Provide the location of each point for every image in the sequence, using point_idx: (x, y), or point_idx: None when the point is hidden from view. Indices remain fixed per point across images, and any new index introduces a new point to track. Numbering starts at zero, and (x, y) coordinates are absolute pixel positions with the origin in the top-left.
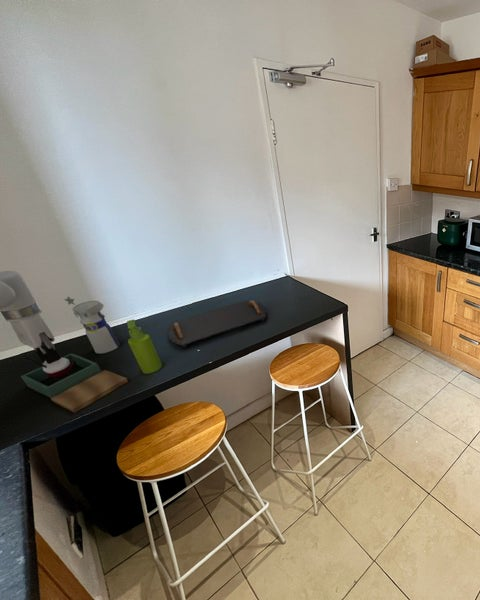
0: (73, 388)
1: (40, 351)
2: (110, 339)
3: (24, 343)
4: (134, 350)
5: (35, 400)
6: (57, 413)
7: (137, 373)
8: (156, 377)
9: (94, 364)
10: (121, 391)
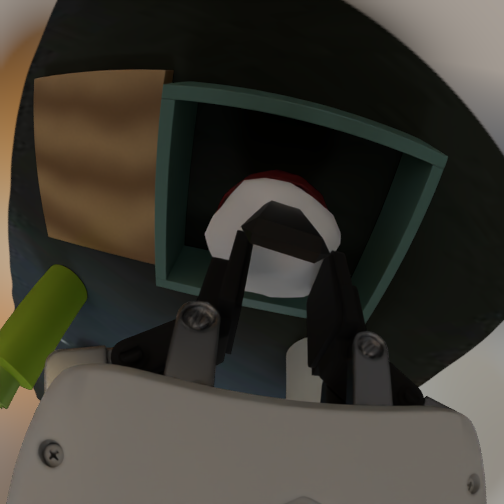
0: (140, 147)
1: (328, 327)
2: (286, 389)
3: (388, 429)
4: (5, 328)
5: (272, 57)
6: (90, 46)
7: (75, 262)
8: (27, 254)
9: (156, 278)
10: (31, 190)
